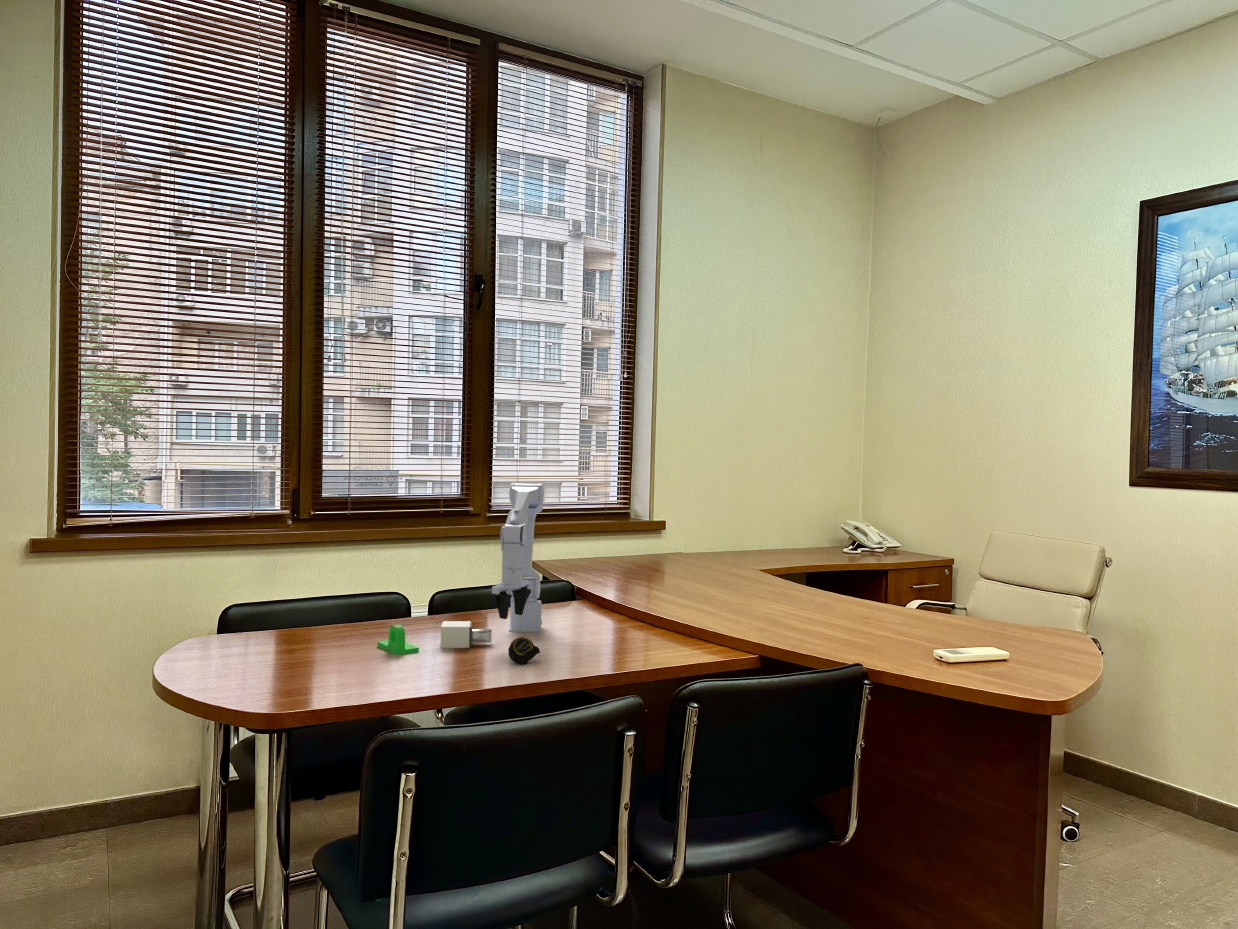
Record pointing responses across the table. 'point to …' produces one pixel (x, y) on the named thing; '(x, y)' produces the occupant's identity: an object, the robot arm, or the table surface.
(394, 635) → the mechanical part
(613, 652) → the table surface
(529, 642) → the tape measure
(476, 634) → the steel pin
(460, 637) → the white block
